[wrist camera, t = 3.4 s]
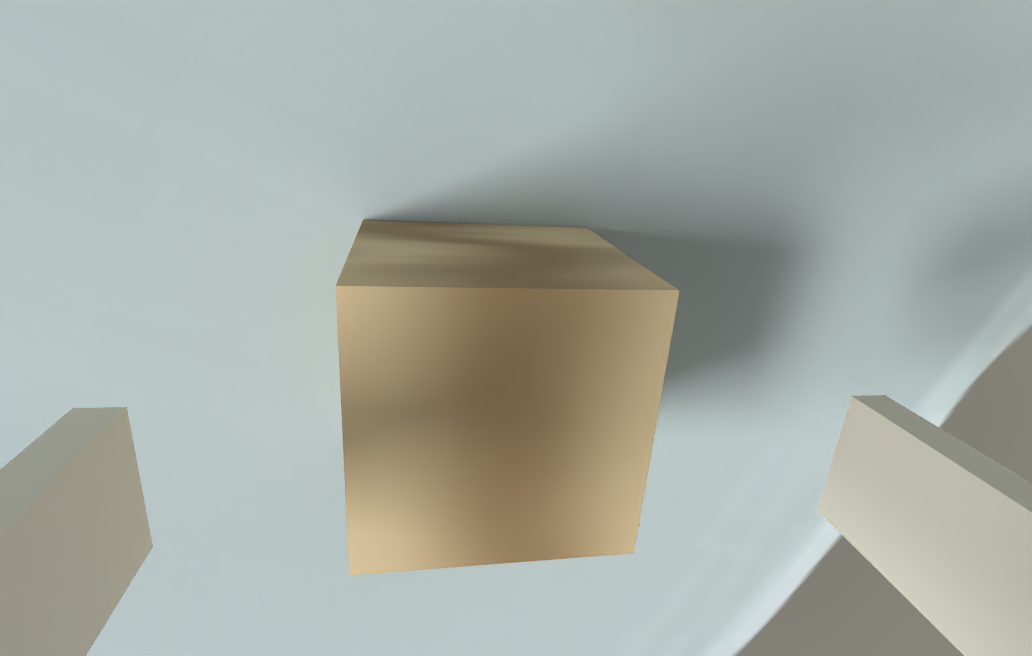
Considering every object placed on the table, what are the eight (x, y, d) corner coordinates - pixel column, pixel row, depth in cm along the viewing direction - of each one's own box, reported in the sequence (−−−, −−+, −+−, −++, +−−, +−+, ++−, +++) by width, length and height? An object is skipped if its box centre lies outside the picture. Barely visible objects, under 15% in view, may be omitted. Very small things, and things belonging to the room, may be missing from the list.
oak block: (369, 421, 17) (349, 574, 11) (363, 219, 15) (336, 286, 9) (564, 416, 18) (633, 552, 12) (585, 226, 16) (679, 290, 10)
